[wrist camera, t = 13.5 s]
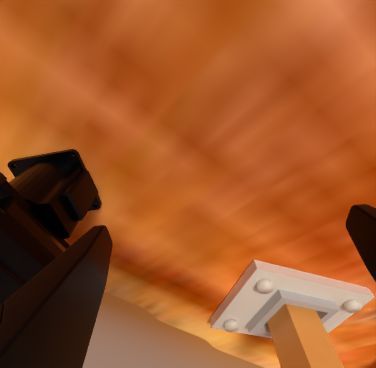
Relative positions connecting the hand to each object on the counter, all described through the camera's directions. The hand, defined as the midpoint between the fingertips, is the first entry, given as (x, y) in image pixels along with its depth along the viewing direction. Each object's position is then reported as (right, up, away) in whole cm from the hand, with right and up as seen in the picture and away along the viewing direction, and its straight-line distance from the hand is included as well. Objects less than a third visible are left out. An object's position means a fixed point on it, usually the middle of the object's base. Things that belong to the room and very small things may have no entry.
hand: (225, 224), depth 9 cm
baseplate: (+13, -16, +25) cm, 33 cm away
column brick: (+13, -17, +24) cm, 32 cm away
